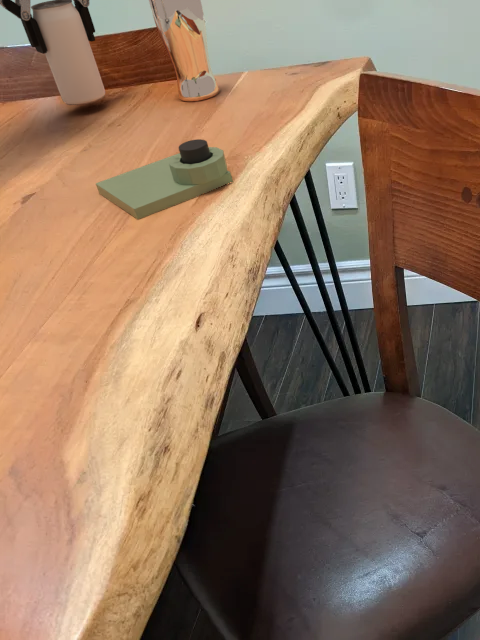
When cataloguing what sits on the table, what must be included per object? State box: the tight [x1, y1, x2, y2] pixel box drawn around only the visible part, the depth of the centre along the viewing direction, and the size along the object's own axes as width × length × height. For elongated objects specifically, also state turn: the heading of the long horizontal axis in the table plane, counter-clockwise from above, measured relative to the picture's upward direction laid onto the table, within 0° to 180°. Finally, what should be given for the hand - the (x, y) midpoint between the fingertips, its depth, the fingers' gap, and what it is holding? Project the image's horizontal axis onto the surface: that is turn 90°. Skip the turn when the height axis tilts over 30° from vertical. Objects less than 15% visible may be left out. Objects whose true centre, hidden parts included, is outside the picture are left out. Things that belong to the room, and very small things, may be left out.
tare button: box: [178, 138, 211, 164], centre depth 77 cm, size 3×3×2 cm
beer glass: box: [148, 0, 220, 102], centre depth 99 cm, size 7×7×15 cm
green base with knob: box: [95, 146, 234, 220], centre depth 79 cm, size 13×12×3 cm
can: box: [30, 0, 106, 107], centre depth 100 cm, size 6×6×12 cm
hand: (65, 44), depth 100 cm, fingers closed on can, 6 cm apart
